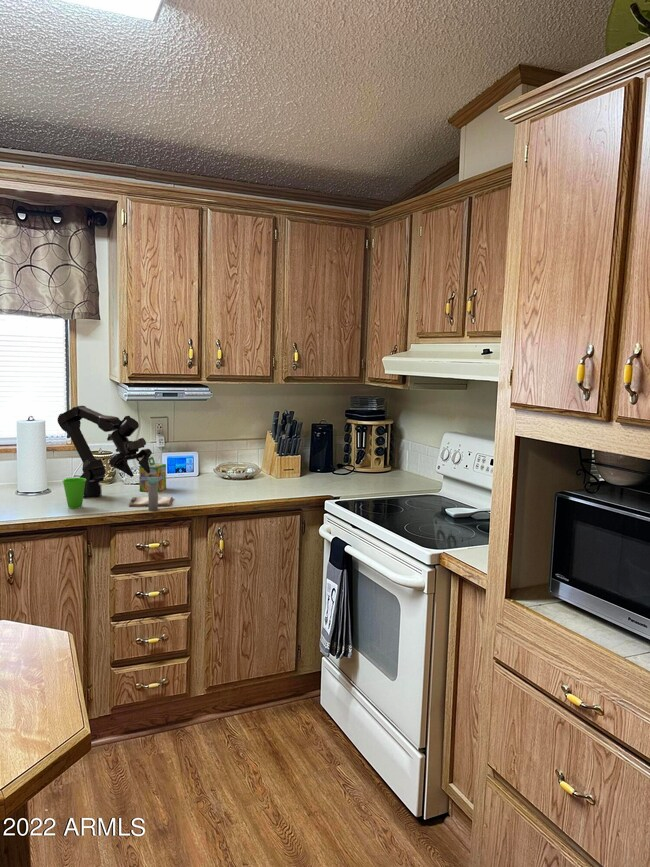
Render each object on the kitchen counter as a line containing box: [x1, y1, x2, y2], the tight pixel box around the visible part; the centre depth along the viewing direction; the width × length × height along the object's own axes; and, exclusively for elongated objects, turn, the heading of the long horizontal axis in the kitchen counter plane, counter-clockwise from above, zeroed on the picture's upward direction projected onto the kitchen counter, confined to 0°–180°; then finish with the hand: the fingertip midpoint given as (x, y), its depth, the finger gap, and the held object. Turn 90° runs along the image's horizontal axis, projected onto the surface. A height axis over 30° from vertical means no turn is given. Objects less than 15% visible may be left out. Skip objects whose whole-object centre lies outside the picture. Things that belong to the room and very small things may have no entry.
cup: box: [61, 477, 86, 509], centre depth 261 cm, size 9×9×11 cm
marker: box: [147, 477, 159, 512], centre depth 259 cm, size 4×4×13 cm
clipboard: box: [128, 496, 173, 508], centre depth 272 cm, size 16×13×2 cm
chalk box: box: [138, 456, 167, 493], centre depth 294 cm, size 9×9×15 cm
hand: (141, 474), depth 265 cm, fingers open, 9 cm apart
